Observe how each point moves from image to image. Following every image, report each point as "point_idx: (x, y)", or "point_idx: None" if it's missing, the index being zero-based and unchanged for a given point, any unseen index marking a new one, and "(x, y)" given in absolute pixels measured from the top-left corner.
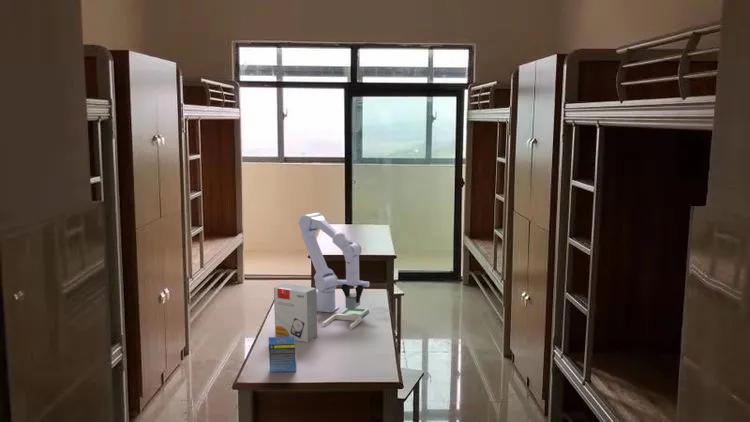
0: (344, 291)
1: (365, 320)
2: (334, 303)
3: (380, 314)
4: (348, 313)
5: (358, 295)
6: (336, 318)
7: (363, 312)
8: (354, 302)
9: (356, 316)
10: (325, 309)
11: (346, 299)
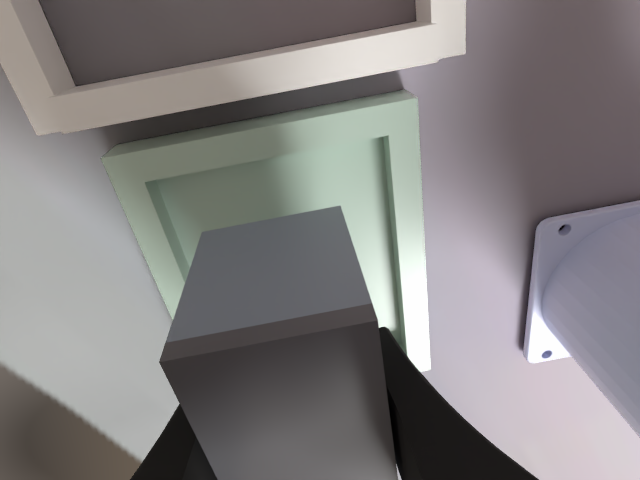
0: (484, 471)
1: (34, 153)
2: (580, 337)
3: (72, 376)
4: None
5: (139, 471)
6: (394, 27)
7: (171, 301)
8: (186, 299)
9: (84, 91)
10: (634, 224)
11: (345, 291)
